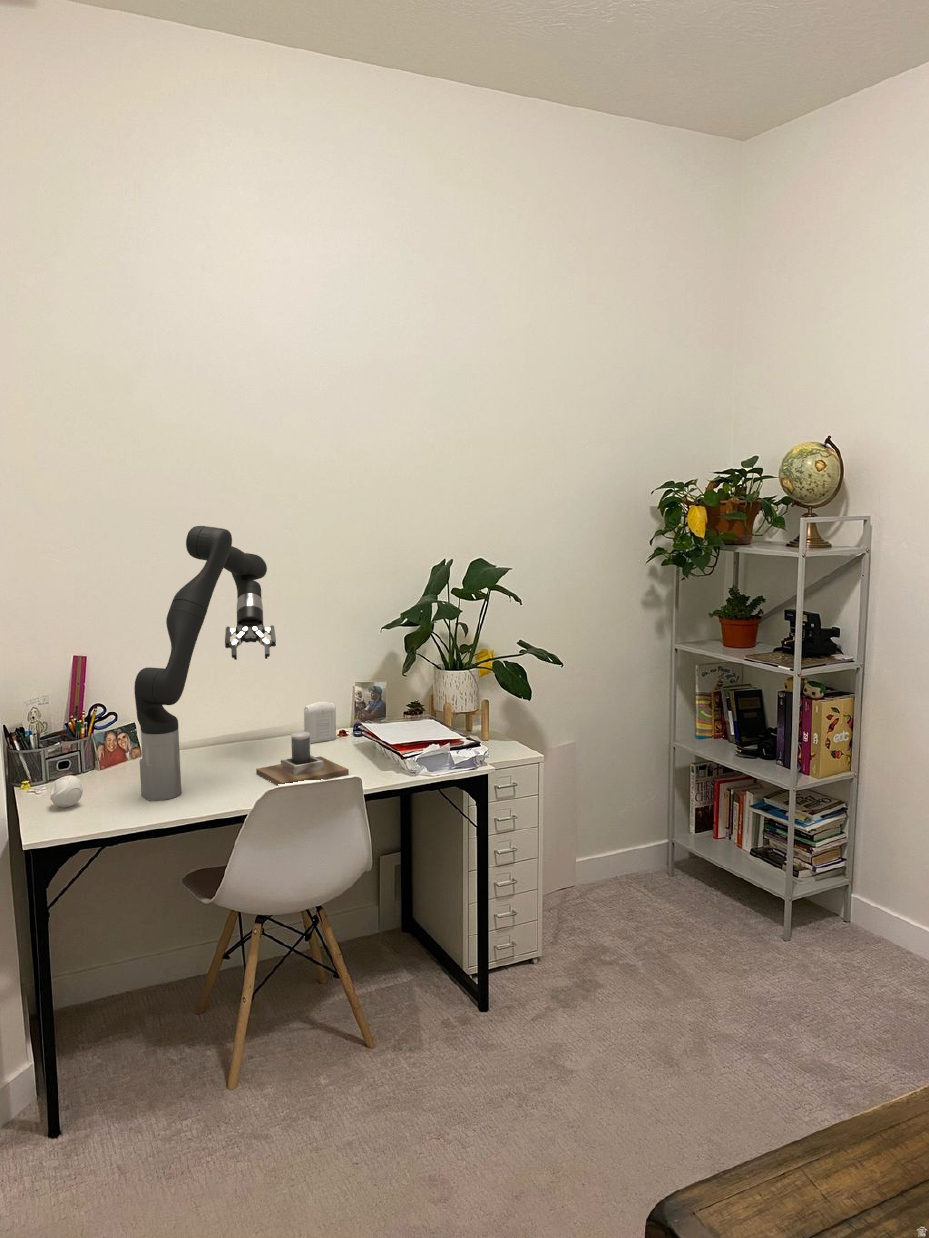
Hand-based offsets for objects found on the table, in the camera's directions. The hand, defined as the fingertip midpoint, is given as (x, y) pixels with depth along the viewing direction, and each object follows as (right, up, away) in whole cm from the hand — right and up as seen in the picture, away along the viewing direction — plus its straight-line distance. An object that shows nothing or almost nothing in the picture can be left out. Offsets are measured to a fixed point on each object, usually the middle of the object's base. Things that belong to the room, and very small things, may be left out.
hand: (250, 657), depth 272 cm
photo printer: (+16, -27, +28) cm, 42 cm away
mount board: (+16, -32, -7) cm, 36 cm away
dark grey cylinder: (+16, -30, -7) cm, 35 cm away
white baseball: (-38, -36, -33) cm, 62 cm away
